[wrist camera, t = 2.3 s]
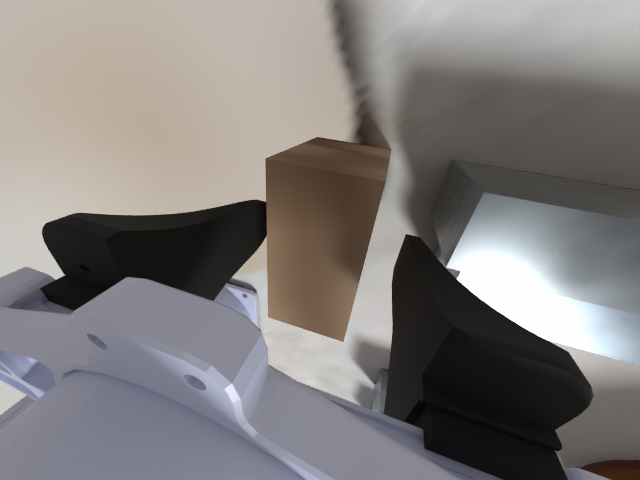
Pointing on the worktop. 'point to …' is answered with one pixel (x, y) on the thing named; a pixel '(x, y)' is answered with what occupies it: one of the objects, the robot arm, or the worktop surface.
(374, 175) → the walnut block
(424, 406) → the robot arm
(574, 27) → the worktop surface
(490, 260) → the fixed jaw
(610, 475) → the food container
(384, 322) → the worktop surface
